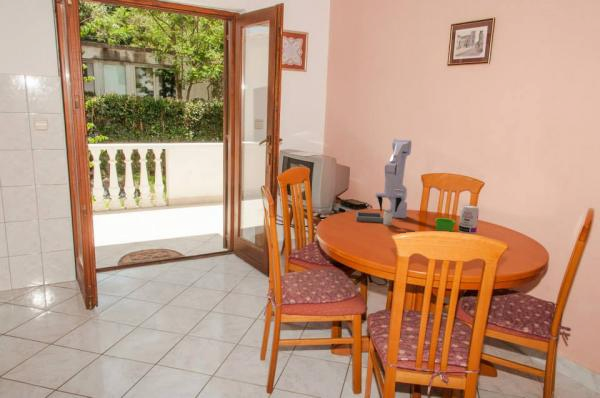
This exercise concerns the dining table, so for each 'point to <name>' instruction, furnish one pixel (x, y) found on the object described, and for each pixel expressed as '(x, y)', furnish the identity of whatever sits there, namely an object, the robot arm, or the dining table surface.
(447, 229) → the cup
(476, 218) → the supplement can
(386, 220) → the shaker
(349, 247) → the dining table surface
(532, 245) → the dining table surface
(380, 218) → the tray
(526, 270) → the dining table surface
